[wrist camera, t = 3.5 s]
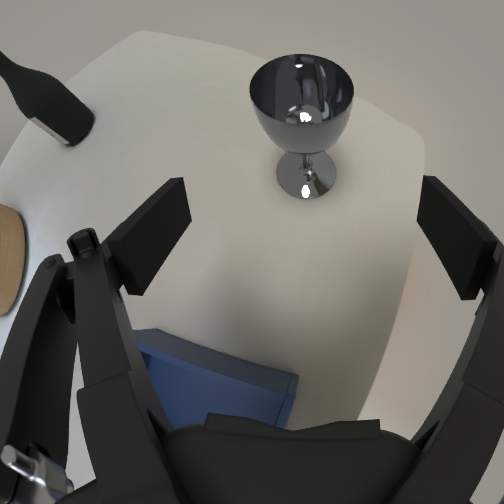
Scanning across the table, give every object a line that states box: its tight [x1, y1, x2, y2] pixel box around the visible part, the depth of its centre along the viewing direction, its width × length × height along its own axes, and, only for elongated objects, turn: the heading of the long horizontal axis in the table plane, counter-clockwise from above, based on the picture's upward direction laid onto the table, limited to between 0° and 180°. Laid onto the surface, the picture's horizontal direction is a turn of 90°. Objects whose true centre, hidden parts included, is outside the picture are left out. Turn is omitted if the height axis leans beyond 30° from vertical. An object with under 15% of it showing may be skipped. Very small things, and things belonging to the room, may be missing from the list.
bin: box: [133, 328, 299, 429], centre depth 26 cm, size 18×15×8 cm
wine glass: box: [250, 54, 354, 199], centre depth 26 cm, size 8×8×15 cm
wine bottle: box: [0, 51, 93, 146], centre depth 29 cm, size 8×8×30 cm
